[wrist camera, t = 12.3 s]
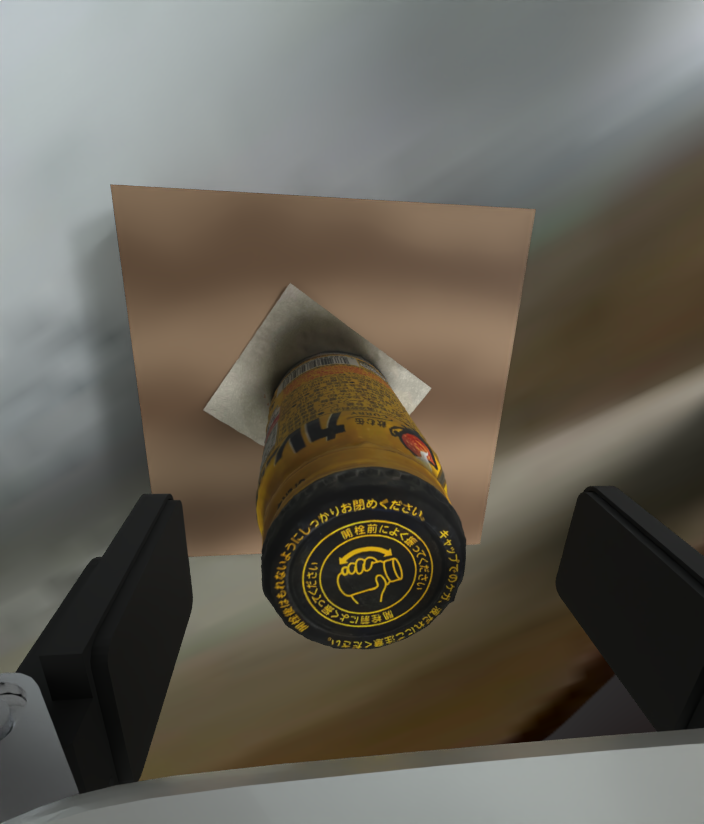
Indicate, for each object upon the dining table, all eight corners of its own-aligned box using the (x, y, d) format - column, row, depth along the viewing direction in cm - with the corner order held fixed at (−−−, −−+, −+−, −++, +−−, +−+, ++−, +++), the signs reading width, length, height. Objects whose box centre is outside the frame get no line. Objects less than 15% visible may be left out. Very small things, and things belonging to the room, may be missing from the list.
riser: (143, 196, 21) (110, 184, 17) (497, 216, 23) (535, 209, 20) (179, 515, 27) (160, 557, 23) (456, 507, 29) (479, 544, 26)
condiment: (344, 493, 23) (387, 712, 12) (203, 408, 21) (97, 589, 10) (430, 386, 22) (569, 527, 11) (290, 282, 19) (281, 323, 8)
